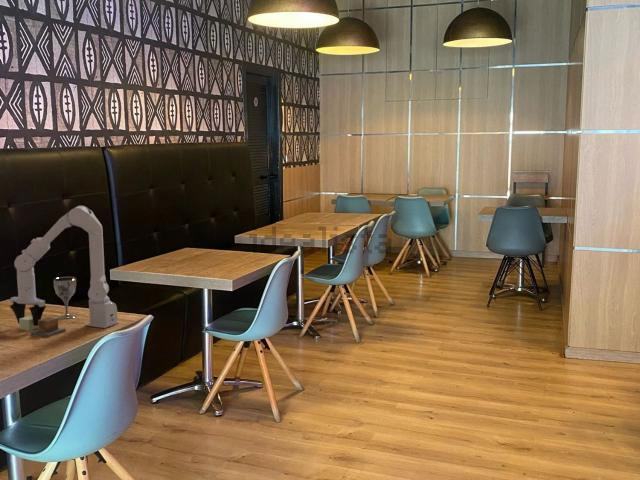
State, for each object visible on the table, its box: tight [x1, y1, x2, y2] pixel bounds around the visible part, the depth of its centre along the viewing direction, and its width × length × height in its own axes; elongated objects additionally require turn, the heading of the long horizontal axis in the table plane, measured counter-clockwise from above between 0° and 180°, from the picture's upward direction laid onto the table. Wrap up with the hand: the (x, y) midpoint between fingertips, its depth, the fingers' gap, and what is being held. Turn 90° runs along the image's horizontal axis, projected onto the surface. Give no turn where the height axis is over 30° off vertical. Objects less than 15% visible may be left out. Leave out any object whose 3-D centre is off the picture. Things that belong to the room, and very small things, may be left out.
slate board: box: [29, 327, 66, 339], centre depth 221 cm, size 8×8×1 cm
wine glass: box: [53, 276, 78, 320], centre depth 241 cm, size 8×8×15 cm
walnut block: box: [37, 316, 59, 333], centre depth 221 cm, size 4×4×4 cm
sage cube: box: [18, 315, 38, 332], centre depth 227 cm, size 4×4×4 cm
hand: (29, 324), depth 227 cm, fingers open, 7 cm apart
